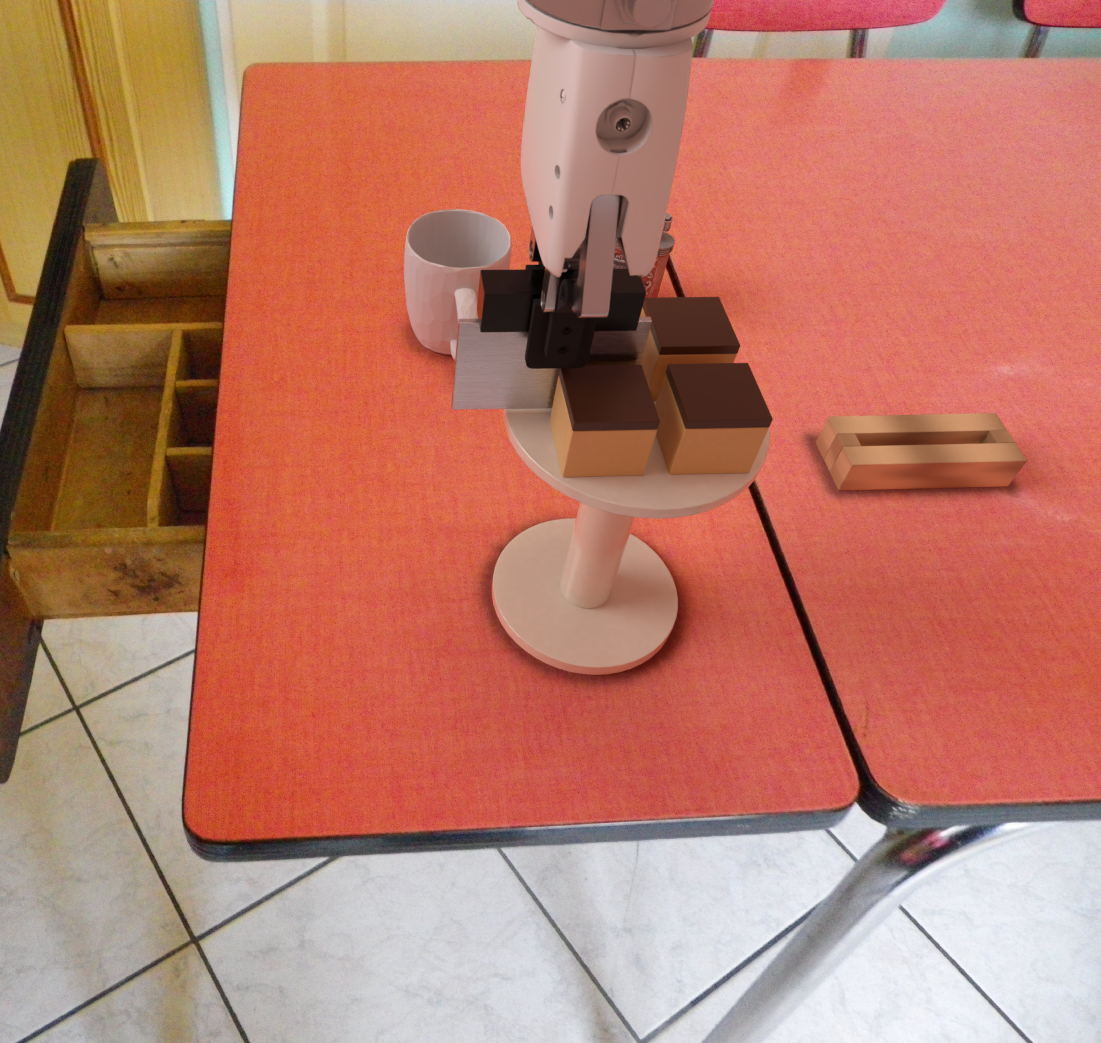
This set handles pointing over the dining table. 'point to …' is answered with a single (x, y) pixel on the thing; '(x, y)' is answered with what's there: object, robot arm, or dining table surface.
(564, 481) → the cake stand
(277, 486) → the dining table surface
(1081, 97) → the dining table surface
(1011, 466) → the knife block
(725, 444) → the cake
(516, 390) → the knife
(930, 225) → the dining table surface
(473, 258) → the mug
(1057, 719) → the dining table surface
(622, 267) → the lighter
